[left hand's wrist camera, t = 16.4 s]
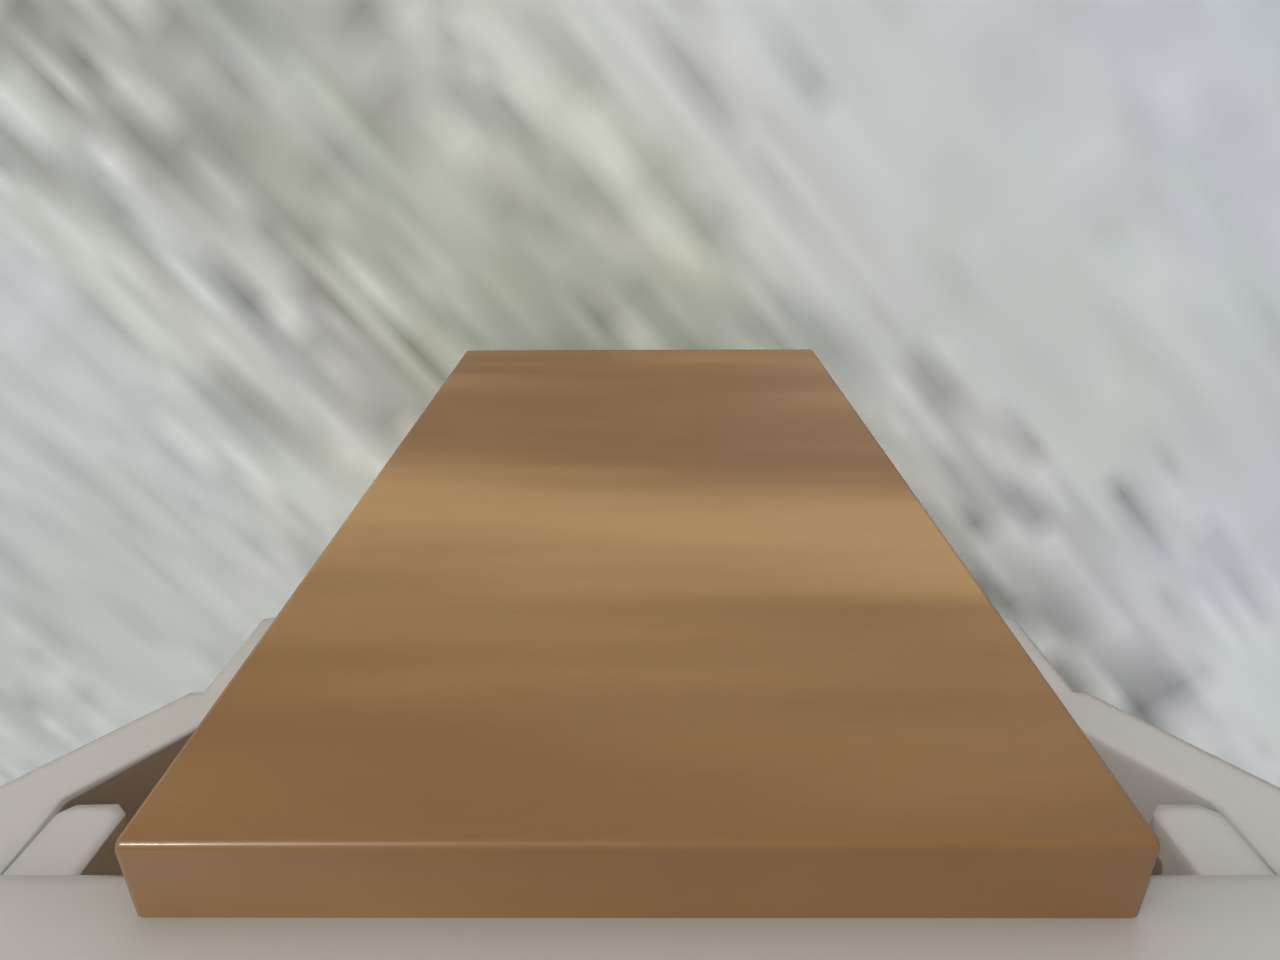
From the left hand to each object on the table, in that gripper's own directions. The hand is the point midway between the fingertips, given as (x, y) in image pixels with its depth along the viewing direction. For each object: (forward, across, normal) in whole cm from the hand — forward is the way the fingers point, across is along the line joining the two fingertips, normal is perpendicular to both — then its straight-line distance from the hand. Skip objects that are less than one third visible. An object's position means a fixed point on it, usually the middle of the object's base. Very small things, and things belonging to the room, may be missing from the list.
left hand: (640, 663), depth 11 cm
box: (+6, 0, -10) cm, 12 cm away
